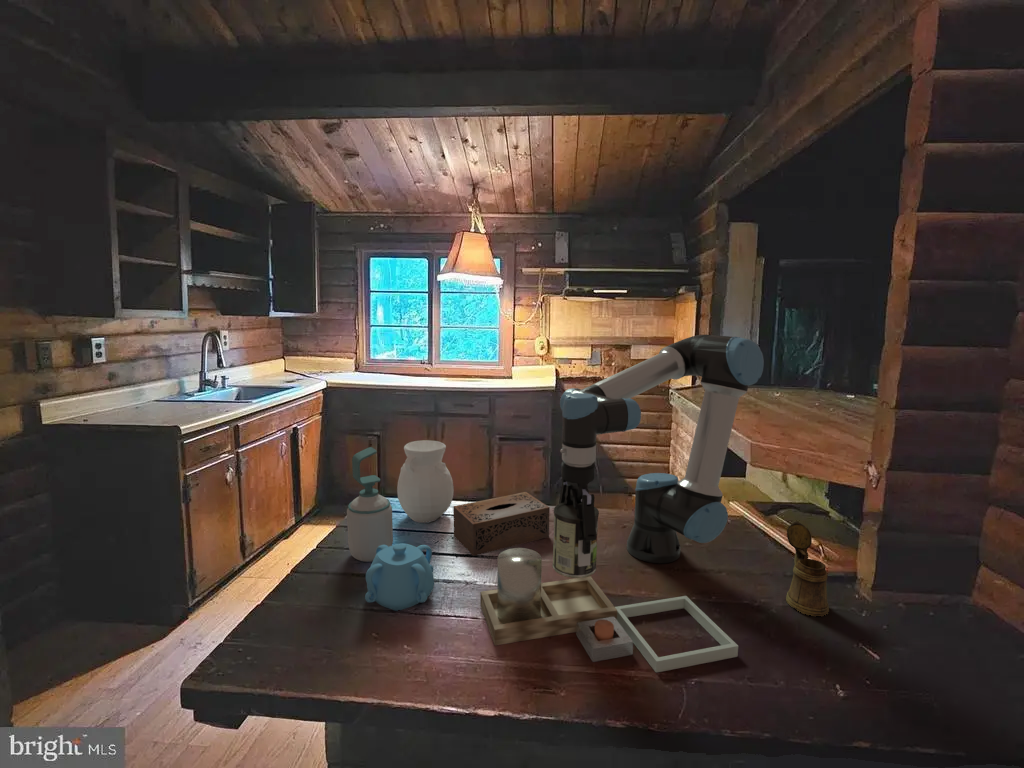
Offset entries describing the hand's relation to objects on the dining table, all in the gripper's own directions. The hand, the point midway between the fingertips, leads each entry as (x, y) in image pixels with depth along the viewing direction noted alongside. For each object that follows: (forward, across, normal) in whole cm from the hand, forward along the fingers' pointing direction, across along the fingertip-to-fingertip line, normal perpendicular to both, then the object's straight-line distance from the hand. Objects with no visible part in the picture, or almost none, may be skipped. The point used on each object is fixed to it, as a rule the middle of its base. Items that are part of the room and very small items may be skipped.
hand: (574, 553), depth 123 cm
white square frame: (+15, +14, +18) cm, 27 cm away
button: (+14, +13, +2) cm, 19 cm away
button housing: (+15, +13, +2) cm, 20 cm away
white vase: (+15, -62, -28) cm, 70 cm away
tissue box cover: (+15, -42, -7) cm, 45 cm away
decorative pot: (+15, -16, -39) cm, 45 cm away
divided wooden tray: (+15, 0, -7) cm, 16 cm away
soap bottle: (+15, -40, -46) cm, 63 cm away
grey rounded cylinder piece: (+13, 0, -13) cm, 19 cm away
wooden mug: (+15, +10, +57) cm, 59 cm away
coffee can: (+4, 0, 0) cm, 4 cm away
